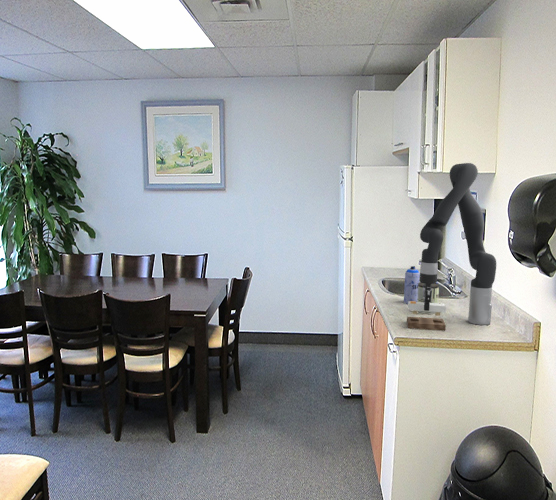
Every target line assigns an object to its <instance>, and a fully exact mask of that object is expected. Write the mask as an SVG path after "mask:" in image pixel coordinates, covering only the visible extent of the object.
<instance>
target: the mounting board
mask: <svg viewBox="0 0 556 500" xmlns="http://www.w3.org/2000/svg"><path fill="white" fill-rule="evenodd" d="M406 324H408V325H407V329H414V328H415V330H418V329H419V330H429V331H430V330H431V331H443V332H445V331H446V328H447V326H446V323H445V320H444V319H443V318H437V317H436V318H435V317H422V316H409V315H408V316H407V317H406Z"/></svg>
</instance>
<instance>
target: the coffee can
mask: <svg viewBox="0 0 556 500" xmlns="http://www.w3.org/2000/svg"><path fill="white" fill-rule="evenodd" d="M424 284H425V283H421V282H420V281H419V283H418V298H417V302H423V300H424V299H423V285H424ZM431 286H432V288H433V289H432V297H431V302H430V303H439V292H440V284H439V283H435V284H431ZM418 312H419V313H420V314H421V313H422V314H428V315H435V312H428V311H417V313H418Z"/></svg>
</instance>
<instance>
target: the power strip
mask: <svg viewBox="0 0 556 500" xmlns="http://www.w3.org/2000/svg"><path fill="white" fill-rule="evenodd" d="M407 309H408V311H412V312H411V313H412V315H418V311H425V310H424V302H416V301H408V304H407ZM446 309H447V305H446V303H441V302H440V303H439V302H438V303H430V305H429V311H428V312H435V314H434V315H435V316H438V317H440V316H441V313H446Z"/></svg>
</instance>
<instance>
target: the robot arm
mask: <svg viewBox="0 0 556 500" xmlns="http://www.w3.org/2000/svg"><path fill="white" fill-rule="evenodd" d="M478 173H479V170H478V168H477V166H476V164H474V163H471V162H463V163H456V164H454V165H452V167H451V168H450V170H449V178H450V183H451V186H452V189H451V190H450V191H449V192H448V193H447V195H446V196H445V197H444V198H443V199H442V200H441V201H440V203H439V204H438V205H437V207H436V208H435V211H434V212H433V214H432V217H431V218H430V219H428V221H427V222H426V224H424V225H423V227H422V228H421V230H420V234H419V239H420V240H421V241H422V242H423V243H426V244H428V246H427V248H424V249H423V250H422V252H421V261H420V269H419V272H420V278H419V283H420V282H421V283H425V284H424V285H423V299H424V300H423V302H424V310H425V311H429V305H430V302H431V297H432V289H433V288H432V286H431V284H435V283H437V282H438V272H439V271H438V270H439V267H438V265H439V252H440V251H441V248H442V245H443V242H444V235H443V231H442V230H440V228H442V227H445V226H447V224H448V222H449V221H450V219H451V217H452V215H453V213H454V211H455V209H456V208H457V206H458V211H459V214H460V220H461V224H462V227H463V232H464V236H465V240H466V244H467V253H468V261H469V266H470V267H471V269H473V270H475V271H476V272H475V277H474V278H472V279H471V281H470V290H469V303H468V314H467V315H468V317H467V322H469V323H470V324H473V325H479V326H486V325H487V326H488V325H491V321H492V307H493V305H492V294H493V293H492V292H493V284H494V282H495V280H496V273H497V259H496V257H495V256H494V255H493V254H491V253H488V252H486V250H485V247H484V242H483V235H484V231H485V219H484V214H483V210H482V208H481V206H480V204H479V203H478V202H477V200H476V199H475V197H474V196H473V194H472V192H471V189H470V188H471V186H472V185H473V184H474V182H475V181H476V180H477V177H478ZM437 284H438V283H437Z"/></svg>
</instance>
